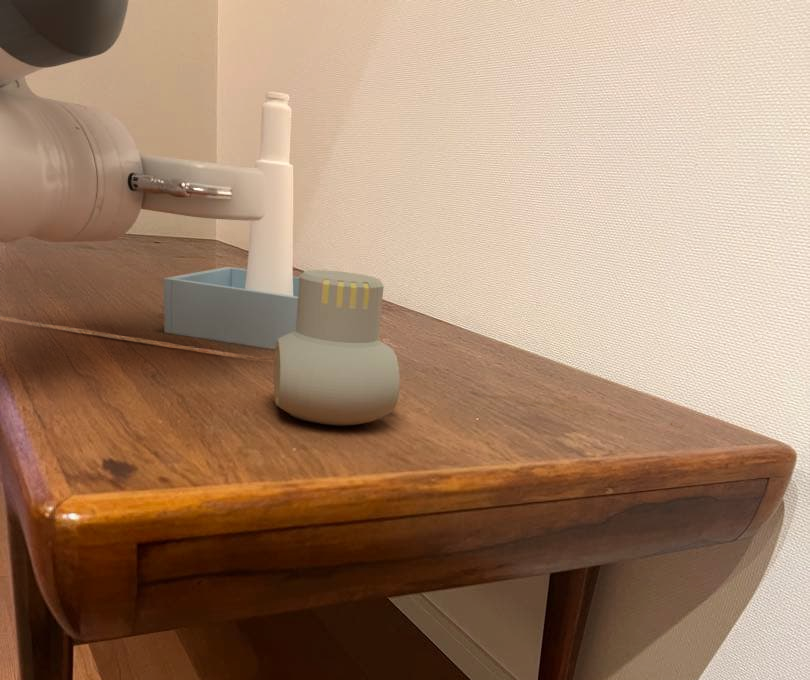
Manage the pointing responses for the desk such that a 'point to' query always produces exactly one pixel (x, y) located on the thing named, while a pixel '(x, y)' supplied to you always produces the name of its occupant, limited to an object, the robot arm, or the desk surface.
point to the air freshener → (336, 353)
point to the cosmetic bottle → (274, 204)
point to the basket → (227, 308)
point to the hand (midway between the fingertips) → (201, 184)
